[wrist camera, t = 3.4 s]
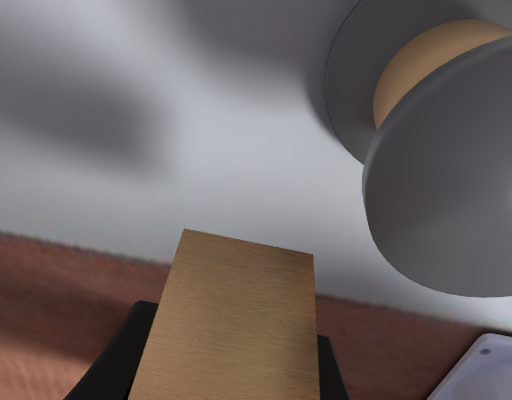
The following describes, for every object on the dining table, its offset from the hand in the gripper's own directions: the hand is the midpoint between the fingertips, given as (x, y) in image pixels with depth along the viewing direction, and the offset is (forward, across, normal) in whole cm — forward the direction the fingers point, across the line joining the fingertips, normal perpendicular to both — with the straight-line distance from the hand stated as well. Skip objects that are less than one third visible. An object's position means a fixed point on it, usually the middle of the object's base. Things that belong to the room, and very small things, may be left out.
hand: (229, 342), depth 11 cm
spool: (+7, -5, -6) cm, 10 cm away
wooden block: (+2, 0, 0) cm, 2 cm away
